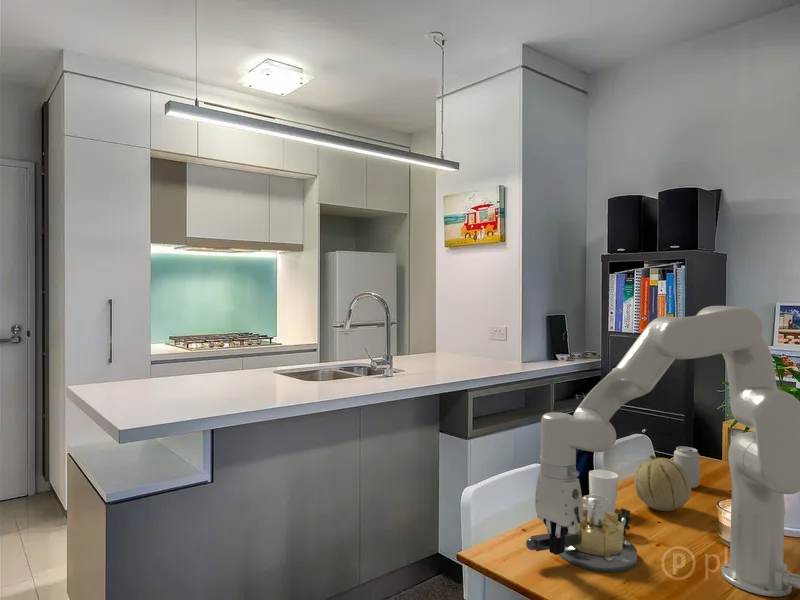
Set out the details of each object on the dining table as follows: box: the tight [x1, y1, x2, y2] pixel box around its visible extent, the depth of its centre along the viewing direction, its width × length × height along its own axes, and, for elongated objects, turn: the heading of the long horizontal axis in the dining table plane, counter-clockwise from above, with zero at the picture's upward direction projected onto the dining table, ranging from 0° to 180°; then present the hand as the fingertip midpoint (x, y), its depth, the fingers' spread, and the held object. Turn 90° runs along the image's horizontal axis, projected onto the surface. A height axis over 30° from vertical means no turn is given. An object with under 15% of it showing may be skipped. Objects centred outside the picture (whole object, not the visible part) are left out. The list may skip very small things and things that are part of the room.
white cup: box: [588, 469, 619, 513], centre depth 156 cm, size 8×8×10 cm
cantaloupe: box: [633, 454, 692, 512], centre depth 157 cm, size 15×15×15 cm
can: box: [673, 446, 701, 489], centre depth 177 cm, size 8×8×12 cm
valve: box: [582, 494, 632, 536], centre depth 144 cm, size 7×7×12 cm
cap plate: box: [558, 494, 638, 574], centre depth 129 cm, size 18×18×13 cm
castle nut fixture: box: [525, 507, 625, 556], centre depth 127 cm, size 25×12×7 cm, turn 110°
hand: (557, 552), depth 122 cm, fingers closed
